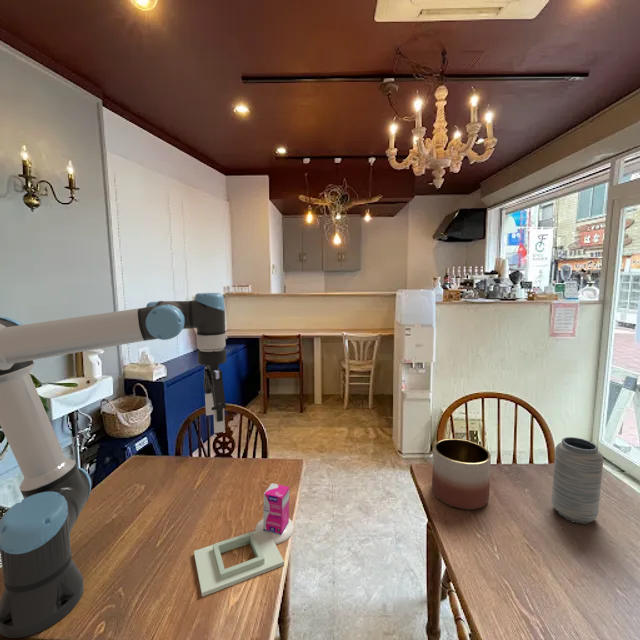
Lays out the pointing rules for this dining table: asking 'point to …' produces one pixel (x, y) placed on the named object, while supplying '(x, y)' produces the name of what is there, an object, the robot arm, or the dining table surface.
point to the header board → (220, 578)
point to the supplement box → (276, 508)
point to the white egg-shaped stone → (277, 537)
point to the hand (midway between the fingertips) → (214, 422)
